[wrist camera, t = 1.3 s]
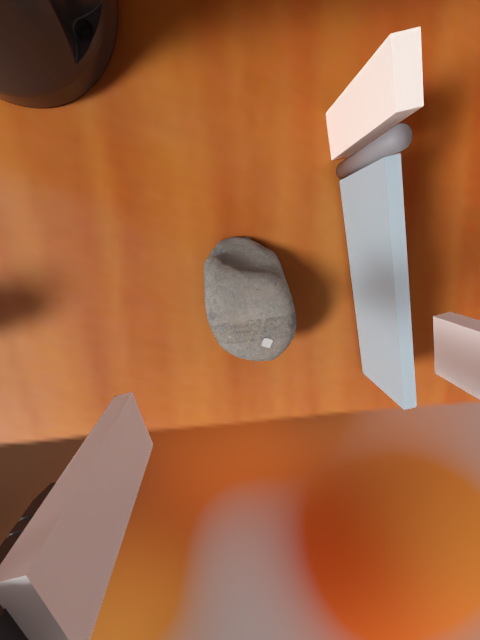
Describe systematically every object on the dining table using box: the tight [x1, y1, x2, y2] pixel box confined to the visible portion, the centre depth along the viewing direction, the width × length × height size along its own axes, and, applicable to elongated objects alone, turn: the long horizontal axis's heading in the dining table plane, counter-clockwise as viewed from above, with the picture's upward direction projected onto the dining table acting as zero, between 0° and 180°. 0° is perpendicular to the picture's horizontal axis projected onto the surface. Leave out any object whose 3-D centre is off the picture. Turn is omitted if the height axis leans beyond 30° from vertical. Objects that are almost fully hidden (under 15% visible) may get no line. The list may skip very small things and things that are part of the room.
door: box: [336, 123, 417, 410], centre depth 25 cm, size 23×3×8 cm, turn 13°
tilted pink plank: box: [326, 26, 424, 160], centre depth 21 cm, size 4×2×10 cm, turn 13°
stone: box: [204, 237, 296, 361], centre depth 27 cm, size 9×9×10 cm
